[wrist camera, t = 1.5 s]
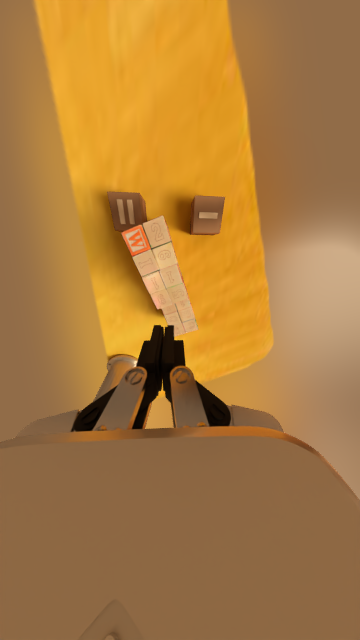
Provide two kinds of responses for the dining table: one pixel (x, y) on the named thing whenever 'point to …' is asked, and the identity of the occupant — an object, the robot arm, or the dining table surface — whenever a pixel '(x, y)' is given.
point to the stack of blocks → (161, 272)
